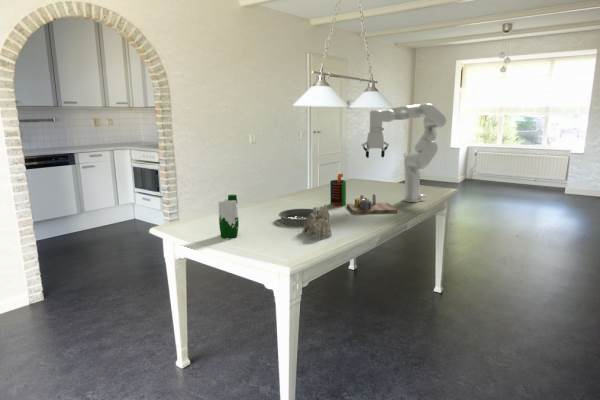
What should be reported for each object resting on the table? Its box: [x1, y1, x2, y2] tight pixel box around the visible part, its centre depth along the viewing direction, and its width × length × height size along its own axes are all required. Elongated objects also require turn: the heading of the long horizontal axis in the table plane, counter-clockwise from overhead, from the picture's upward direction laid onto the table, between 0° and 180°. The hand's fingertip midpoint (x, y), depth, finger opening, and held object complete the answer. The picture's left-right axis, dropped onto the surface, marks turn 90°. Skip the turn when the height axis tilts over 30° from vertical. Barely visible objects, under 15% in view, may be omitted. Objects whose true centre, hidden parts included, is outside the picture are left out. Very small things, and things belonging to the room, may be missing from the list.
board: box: [346, 194, 398, 215], centre depth 249 cm, size 26×20×8 cm
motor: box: [329, 173, 347, 207], centre depth 264 cm, size 10×9×20 cm
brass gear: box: [354, 197, 370, 207], centre depth 253 cm, size 9×9×4 cm
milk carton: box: [218, 194, 239, 239], centre depth 196 cm, size 9×9×20 cm
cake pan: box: [278, 208, 320, 227], centre depth 225 cm, size 25×25×4 cm
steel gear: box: [360, 199, 372, 210], centre depth 244 cm, size 7×7×4 cm
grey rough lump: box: [301, 204, 333, 241], centre depth 197 cm, size 16×16×15 cm
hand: (375, 157), depth 260 cm, fingers open, 9 cm apart
